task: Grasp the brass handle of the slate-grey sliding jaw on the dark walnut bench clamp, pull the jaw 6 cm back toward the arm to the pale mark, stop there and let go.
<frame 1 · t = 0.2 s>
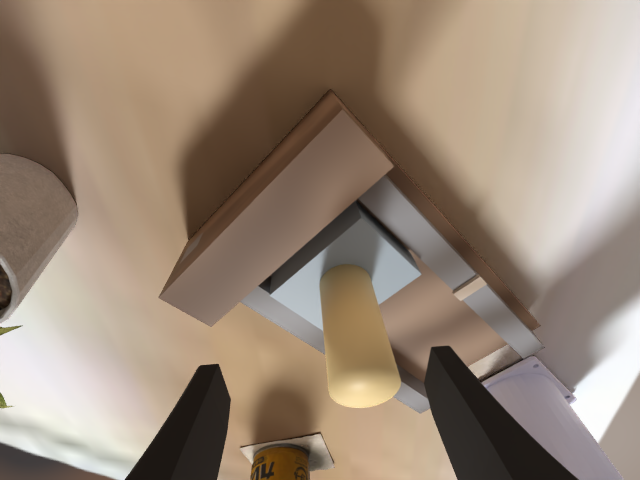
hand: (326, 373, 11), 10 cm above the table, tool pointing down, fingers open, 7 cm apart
condiment: (289, 453, 35), on the table
sliding jaw: (350, 311, 16), point 6 cm above the table, slide at 0.0 cm
house plant: (8, 176, 17), on the table
bench clamp: (377, 280, 22), on the table
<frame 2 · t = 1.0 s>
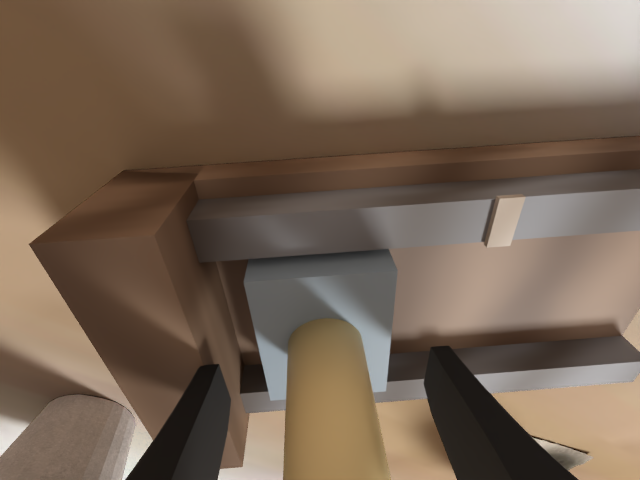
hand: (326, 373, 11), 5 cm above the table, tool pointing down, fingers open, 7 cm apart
condiment: (520, 465, 28), on the table
sliding jaw: (329, 394, 11), point 6 cm above the table, slide at 0.0 cm
house plant: (68, 411, 20), on the table
bench clamp: (403, 275, 15), on the table
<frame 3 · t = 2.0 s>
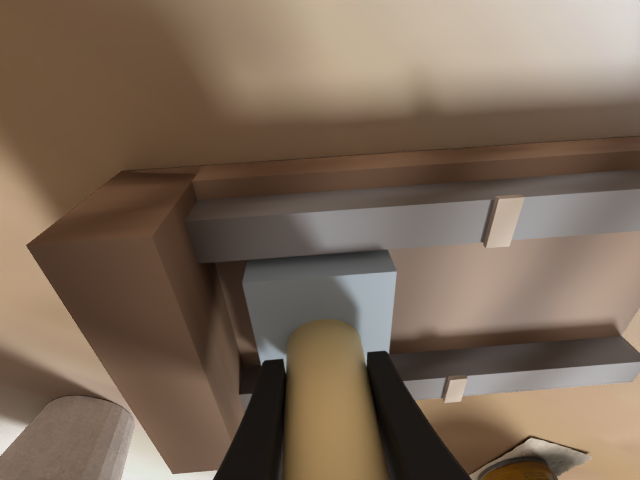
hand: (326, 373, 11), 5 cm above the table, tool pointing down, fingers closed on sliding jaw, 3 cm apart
condiment: (519, 465, 28), on the table
sliding jaw: (328, 395, 11), point 6 cm above the table, slide at 0.0 cm, touching gripper
house plant: (67, 412, 20), on the table
bench clamp: (403, 276, 15), on the table
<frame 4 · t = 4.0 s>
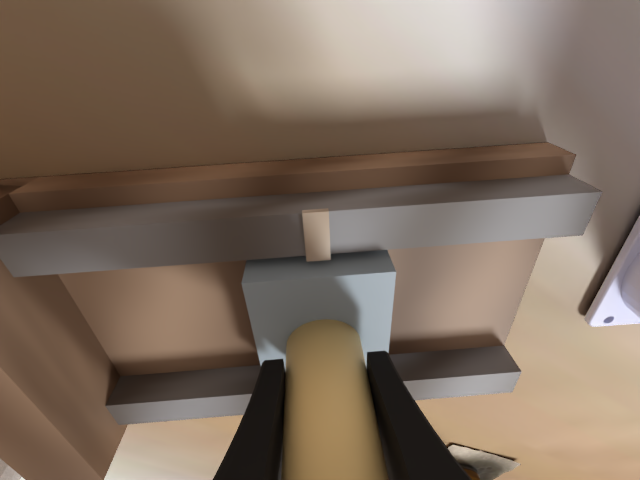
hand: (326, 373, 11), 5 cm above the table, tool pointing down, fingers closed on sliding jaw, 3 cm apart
condiment: (450, 471, 28), on the table
sliding jaw: (327, 395, 11), point 6 cm above the table, slide at 6.0 cm, touching gripper
bench clamp: (276, 285, 15), on the table
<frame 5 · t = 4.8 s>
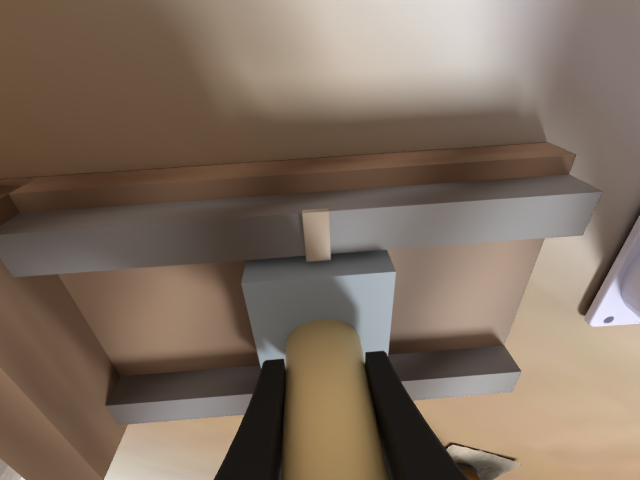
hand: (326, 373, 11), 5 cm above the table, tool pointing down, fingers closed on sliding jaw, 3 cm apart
condiment: (450, 471, 28), on the table
sliding jaw: (327, 395, 11), point 6 cm above the table, slide at 6.0 cm, touching gripper
bench clamp: (276, 285, 15), on the table
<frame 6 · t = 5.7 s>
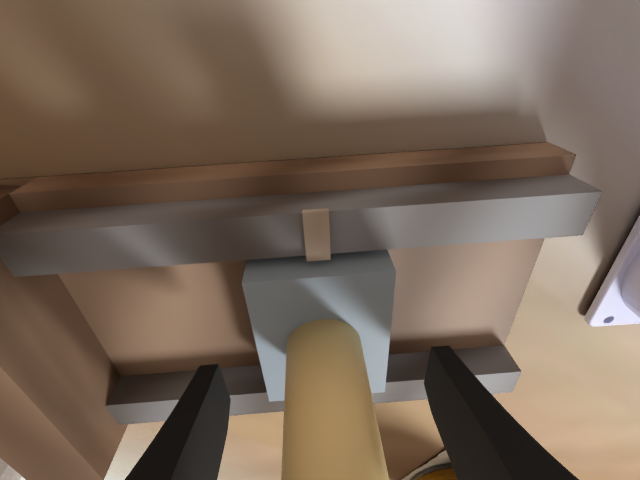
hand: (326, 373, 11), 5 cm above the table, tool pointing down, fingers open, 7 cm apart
condiment: (450, 471, 28), on the table
sliding jaw: (327, 395, 11), point 6 cm above the table, slide at 6.0 cm
bench clamp: (276, 285, 15), on the table
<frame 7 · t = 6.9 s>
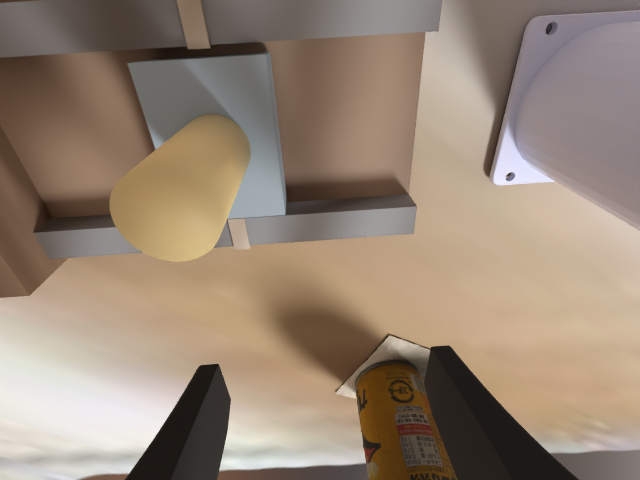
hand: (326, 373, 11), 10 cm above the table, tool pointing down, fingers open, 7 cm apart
condiment: (394, 373, 29), on the table
sliding jaw: (205, 165, 12), point 6 cm above the table, slide at 6.0 cm
bench clamp: (193, 129, 17), on the table
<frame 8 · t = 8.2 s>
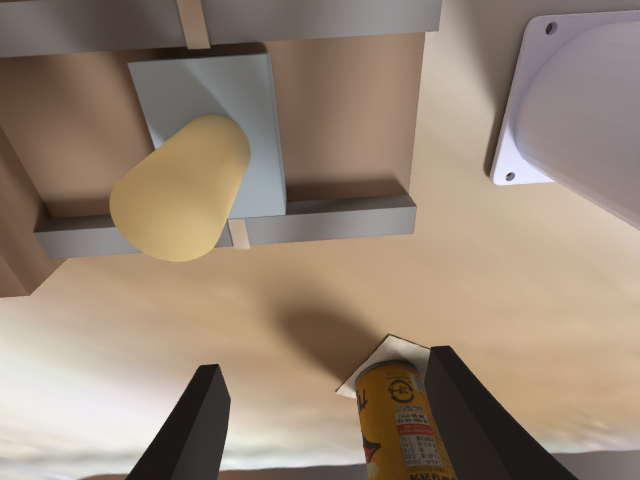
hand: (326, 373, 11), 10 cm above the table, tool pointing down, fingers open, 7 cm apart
condiment: (394, 373, 29), on the table
sliding jaw: (205, 165, 12), point 6 cm above the table, slide at 6.0 cm
bench clamp: (193, 129, 17), on the table
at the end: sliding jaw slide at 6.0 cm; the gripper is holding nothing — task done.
